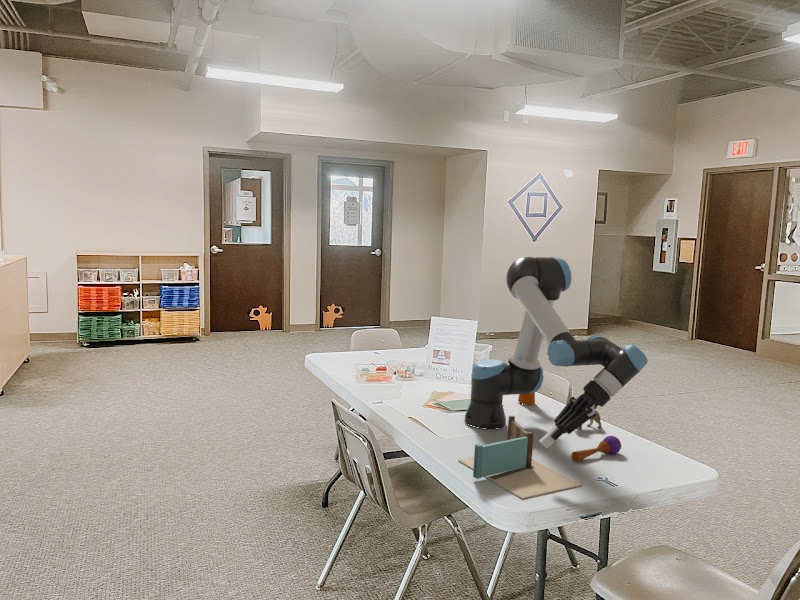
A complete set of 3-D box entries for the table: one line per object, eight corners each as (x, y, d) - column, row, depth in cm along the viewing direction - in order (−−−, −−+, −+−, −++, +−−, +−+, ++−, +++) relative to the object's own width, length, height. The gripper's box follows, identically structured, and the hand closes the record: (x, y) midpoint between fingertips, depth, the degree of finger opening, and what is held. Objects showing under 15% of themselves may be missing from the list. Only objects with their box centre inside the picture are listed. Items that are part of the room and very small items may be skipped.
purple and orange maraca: (567, 446, 203) (609, 433, 214) (569, 464, 203) (611, 450, 214) (581, 448, 198) (623, 435, 209) (583, 467, 198) (626, 453, 209)
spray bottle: (506, 401, 266) (510, 340, 263) (529, 400, 270) (533, 339, 267) (515, 406, 260) (520, 343, 257) (538, 405, 264) (542, 342, 261)
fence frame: (505, 447, 210) (507, 415, 209) (511, 447, 211) (513, 415, 209) (525, 469, 192) (528, 434, 191) (532, 469, 192) (534, 434, 191)
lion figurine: (573, 432, 230) (575, 407, 229) (564, 427, 235) (566, 403, 234) (605, 428, 236) (607, 405, 235) (595, 424, 241) (597, 401, 240)
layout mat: (458, 461, 196) (458, 459, 196) (513, 451, 207) (513, 449, 207) (522, 499, 171) (522, 497, 171) (581, 485, 182) (581, 484, 181)
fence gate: (522, 464, 193) (524, 434, 192) (526, 466, 192) (528, 436, 190) (473, 476, 182) (474, 444, 181) (477, 479, 181) (479, 446, 179)
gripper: (620, 403, 179) (560, 462, 178) (599, 391, 191) (542, 445, 191) (604, 385, 177) (543, 444, 176) (583, 374, 190) (526, 428, 189)
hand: (543, 444), depth 183 cm, fingers closed
